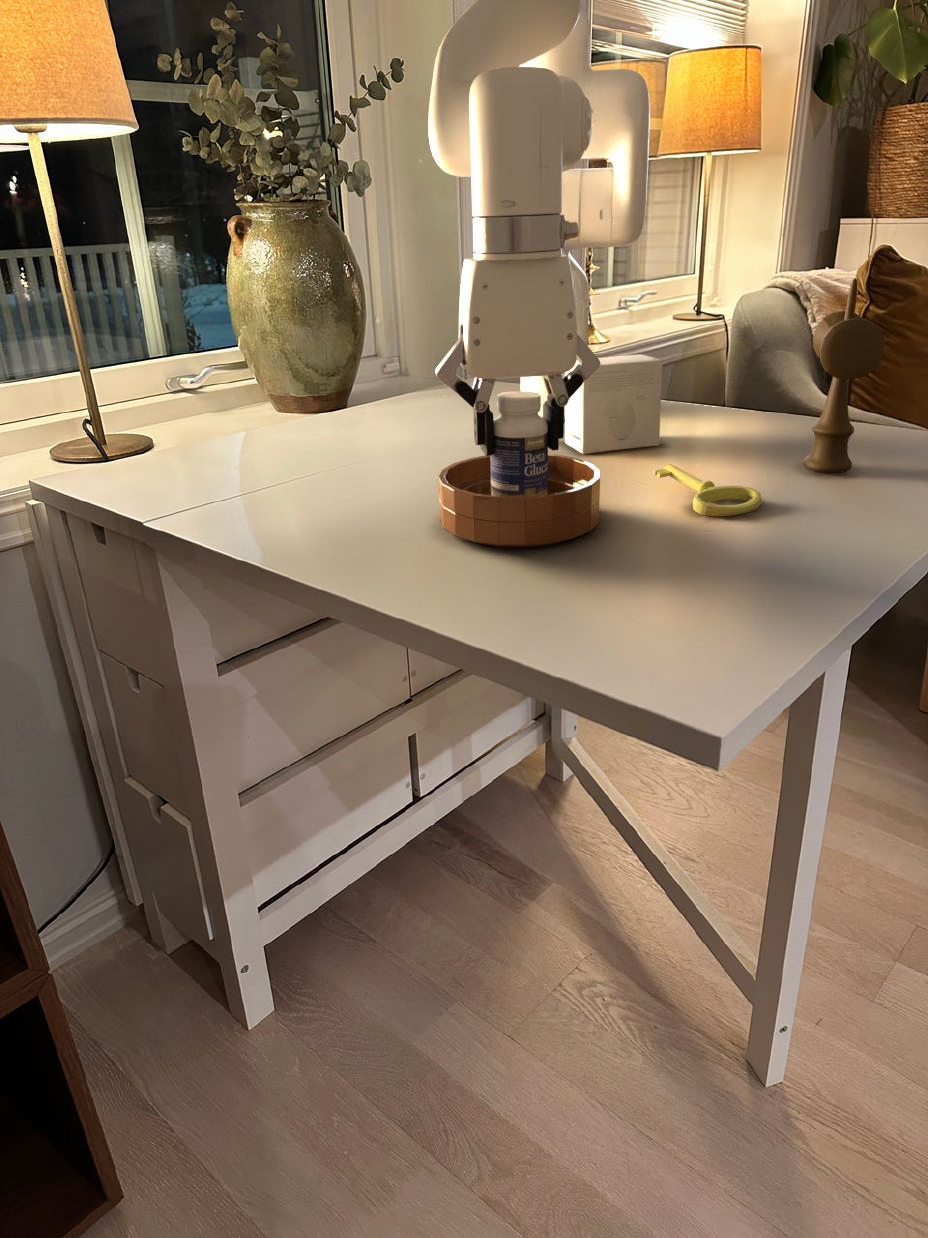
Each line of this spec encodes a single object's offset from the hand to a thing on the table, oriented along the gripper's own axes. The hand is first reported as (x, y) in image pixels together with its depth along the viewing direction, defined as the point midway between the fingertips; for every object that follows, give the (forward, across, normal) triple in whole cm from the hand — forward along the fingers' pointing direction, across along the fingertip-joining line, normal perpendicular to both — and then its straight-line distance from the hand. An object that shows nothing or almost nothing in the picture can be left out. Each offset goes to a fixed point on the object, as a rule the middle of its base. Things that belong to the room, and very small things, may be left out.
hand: (518, 447), depth 83 cm
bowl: (+7, 0, 0) cm, 7 cm away
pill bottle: (+5, 0, 0) cm, 5 cm away
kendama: (+8, -37, -8) cm, 39 cm away
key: (+8, -20, -2) cm, 22 cm away
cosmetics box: (+8, -18, -26) cm, 33 cm away
